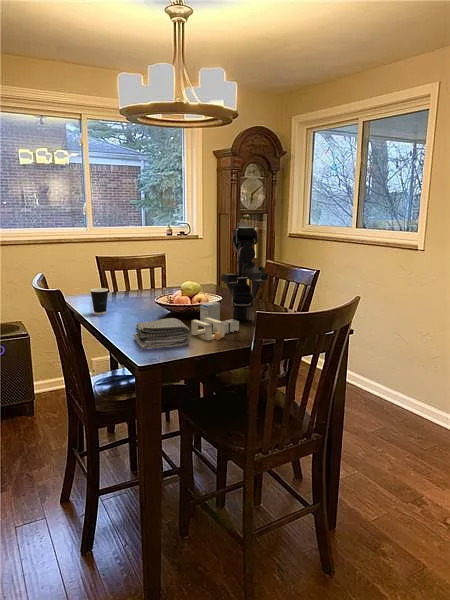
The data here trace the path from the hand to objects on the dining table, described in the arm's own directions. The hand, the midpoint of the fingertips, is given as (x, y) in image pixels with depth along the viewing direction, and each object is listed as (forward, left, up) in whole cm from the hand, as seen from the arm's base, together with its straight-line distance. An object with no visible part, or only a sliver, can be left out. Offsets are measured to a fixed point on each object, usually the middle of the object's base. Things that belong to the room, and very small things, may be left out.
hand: (244, 298), depth 179 cm
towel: (+34, -6, -13) cm, 37 cm away
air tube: (+7, -3, -13) cm, 15 cm away
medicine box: (+4, -17, -13) cm, 22 cm away
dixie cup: (+33, -61, -13) cm, 70 cm away
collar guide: (+16, -3, -13) cm, 21 cm away
